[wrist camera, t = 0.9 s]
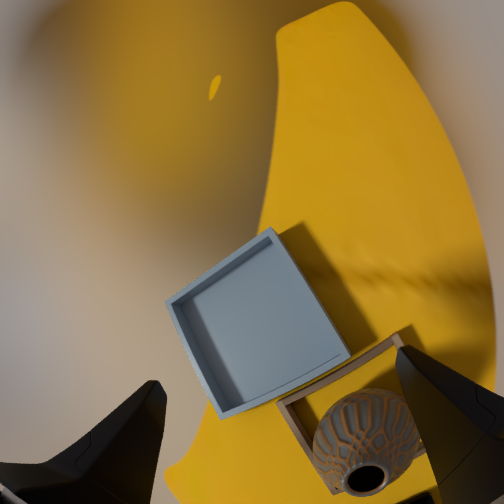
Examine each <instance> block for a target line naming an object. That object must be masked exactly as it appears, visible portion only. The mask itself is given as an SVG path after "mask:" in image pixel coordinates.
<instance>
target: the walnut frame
mask: <svg viewBox="0 0 504 504" xmlns="http://www.w3.org/2000/svg"><path fill="white" fill-rule="evenodd" d="M393 344H394V345H395V347H396V348H397V350H398V348H399V347H401V346H404V344H403V342H402V340H401V339H400V337H399V335H398V333H394V334H392V335H391V336H389V337H388V338H386V339H385V340H383V341H382V342H380V343H379V344H377V345H376V346H374V347H373V348H371V349H370V350H368V351H367V352H365V353H364V354H362V355H360V356H359V357H357V358H355V359H354V360H352V361H351V362H349V363H347V364H345V365H344V366H342V367H340V368H339V369H337V370H335V371H333V372H332V373H330V374H328V375H326V376H324V377H323V378H321V379H319V380H317V381H315V382H313V383H311V384H309V385H307V386H306V387H304V388H302V389H300V390H298V391H296V392H294V393H291V394H289V395H287V396H285V397H283V398H281V399H279V400H278V401H277V402H276V405H277V406H278V408H279V410H280V412H281V413H282V415H283V417H284V418H285V420H286V422H287V423H288V425H289V427H290V429H291V430H292V432H293V434H294V435H295V437H296V438H297V440H298V442H299V443H300V445H301V447H302V448H303V450H304V452H305V453H306V455H307V456H308V458H309V459H310V461H311V463H312V464H313V466H314V467H315V469H316V470H317V472H318V474H319V475H320V477H321V478H322V480H323V481H324V483H325V484H326V486H327V487H328V489H329V490H330V492H331V493H332V495H336V494H338V493H341V492H344V491H343V490H340V489H338V488H336V487H334V486H332V485H331V484H329V483H328V482H327V481H326V480H325V479H324V478H323V477H322V476H321V474H320V473H319V471H318V469H317V467H316V464H315V461H314V456H313V442H312V440H311V439H310V437H309V435H308V434H307V432H306V430H305V429H304V427H303V425H302V424H301V422H300V420H299V418H298V417H297V415H296V413H295V412H294V410H293V408H292V407H291V405H290V403H292V402H294V401H296V400H298V399H300V398H302V397H304V396H306V395H308V394H310V393H312V392H314V391H316V390H318V389H320V388H322V387H324V386H326V385H328V384H330V383H331V382H333V381H335V380H337V379H339V378H340V377H342V376H344V375H346V374H347V373H349V372H351V371H352V370H354V369H356V368H358V367H359V366H361V365H362V364H364V363H366V362H367V361H369V360H370V359H372V358H374V357H375V356H377V355H378V354H380V353H381V352H383V351H384V350H386V349H387V348H389V347H390V346H392V345H393ZM424 453H426V450H425V447H424V445H423V442H421V443H419V446H418V450H417V453H416V455H415V458H417V457H419V456H421V455H422V454H424ZM415 458H414V459H415Z"/></svg>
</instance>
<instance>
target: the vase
mask: <svg viewBox="0 0 504 504" xmlns="http://www.w3.org/2000/svg"><path fill="white" fill-rule="evenodd" d="M419 442H420V434H419V432H418V429H417V427H416V424H415V422H414V419H413V417H412V414H411V412H410V410H409V407H408V405H407V402H406V400H405V399H404V398H403V397H402V396H400V395H399V394H397V393H395V392H393V391H390V390H386V389H381V388H367V389H362V390H358V391H355V392H352V393H350V394H348V395H346V396H344V397H343V398H341V399H340V400H338V401H337V402H336V403H334V404H333V405H332V406H331V407H330V408H329V409H328V411H327V412H326V413H325V415H324V416H323V417H322V419H321V421H320V423H319V425H318V427H317V429H316V432H315V435H314V440H313V456H314V461H315V464H316V467H317V469H318V471H319V473H320V474H321V476H322V477H323V478H324V479H325V480H326V481H327V482H328V483H329V484H331V485H332V486H334V487H336V488H338V489H340V490H343V491H345V492H347V493H348V494H350V495H353V496H357V497H366V496H371V495H374V494H376V493H378V492H380V491H381V490H383V489H384V488H385V487H386V486H387V485H389V484H391V483H392V482H394V481H395V480H396V479H398V478H399V477H400V476H401V475H402V474H403V473H404V472H405V471H406V470H407V469H408V467H409V466H410V464H411V463H412V461H413V460H414V458H415V455H416V453H417V450H418V446H419Z"/></svg>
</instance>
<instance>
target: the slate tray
mask: <svg viewBox="0 0 504 504" xmlns="http://www.w3.org/2000/svg"><path fill="white" fill-rule="evenodd" d="M165 304H166V306H167V308H168V311H169V313H170V316H171V318H172V320H173V323H174V325H175V328H176V330H177V332H178V335H179V337H180V339H181V342H182V344H183V346H184V348H185V350H186V353H187V355H188V357H189V359H190V361H191V363H192V365H193V368H194V370H195V372H196V374H197V376H198V378H199V380H200V382H201V384H202V386H203V388H204V390H205V391H206V394H207V396H208V398H209V399H210V401H211V403H212V405H213V407H214V409H215V411H216V413H217V414H218V416H219V418H220V420H222V419H225V418H228V417H230V416H233V415H235V414H238V413H240V412H243V411H245V410H248V409H250V408H253V407H255V406H257V405H260V404H262V403H264V402H266V401H269V400H271V399H273V398H275V397H277V396H279V395H281V394H284V393H286V392H288V391H290V390H292V389H294V388H296V387H298V386H300V385H302V384H304V383H306V382H308V381H309V380H311V379H313V378H315V377H317V376H319V375H321V374H322V373H324V372H326V371H328V370H330V369H331V368H333V367H335V366H337V365H338V364H340V363H342V362H343V361H345V360H347V359H348V358H350V357H351V354H352V353H351V352H350V350H349V348H348V346H347V345H346V343H345V341H344V340H343V338H342V336H341V335H340V333H339V331H338V330H337V328H336V326H335V325H334V323H333V321H332V320H331V318H330V316H329V315H328V313H327V311H326V310H325V308H324V306H323V305H322V303H321V301H320V300H319V298H318V297H317V295H316V293H315V292H314V290H313V288H312V287H311V285H310V284H309V282H308V280H307V279H306V277H305V276H304V274H303V272H302V271H301V269H300V268H299V266H298V264H297V263H296V261H295V260H294V258H293V257H292V255H291V253H290V252H289V250H288V249H287V247H286V246H285V244H284V242H283V241H282V239H281V238H280V236H279V235H278V234H277V233H276V232H275V231H274V229H273V228H272V227H269V228H268V229H266V230H265V231H263V232H262V233H261V234H259V235H258V236H256V237H255V238H254V239H252V240H251V241H249V242H248V243H246V244H245V245H244V246H242V247H241V248H239V249H238V250H236V251H235V252H234V253H232V254H231V255H229V256H228V257H227V258H225V259H224V260H222V261H221V262H220V263H218V264H217V265H215V266H214V267H213V268H211V269H210V270H208V271H207V272H206V273H204V274H203V275H201V276H200V277H199V278H197V279H196V280H194V281H193V282H192V283H190V284H189V285H187V286H186V287H185V288H183V289H182V290H180V291H179V292H178V293H176V294H175V295H173V296H172V297H171V298H169V299H168V300H167V301H165Z"/></svg>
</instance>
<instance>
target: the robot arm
mask: <svg viewBox="0 0 504 504" xmlns="http://www.w3.org/2000/svg"><path fill="white" fill-rule="evenodd" d="M395 365H396V370H397V373H398V376H399V380H400V383H401V386H402V389H403V393H404V396H405V399H406V402H407V405H408V407H409V410H410V412H411V414H412V417H413V419H414V422H415V424H416V427H417V429H418V432H419V434H420V437H421V439H422V442H423V445H424V447H425V450H426V453H427V455H428V458H429V461H430V464H431V467H432V470H433V473H434V476H435V479H436V482H437V485H438V488H439V492H440V495H441V498H442V502H443V504H504V397H502V396H499V395H497V394H495V393H493V392H491V391H489V390H487V389H486V388H484V387H482V386H480V385H478V384H476V383H475V382H473V381H471V380H470V379H468V378H466V377H464V376H463V375H461V374H459V373H458V372H456V371H454V370H452V369H451V368H449V367H447V366H445V365H444V364H442V363H440V362H439V361H437V360H435V359H433V358H432V357H430V356H428V355H426V354H425V353H423V352H421V351H419V350H418V349H416V348H414V347H413V346H411V345H404V346H401V347H399V348H398V352H397V357H396V363H395ZM166 404H167V395H166V393H165V391H164V389H163V387H162V386H161V384H160V382H159V381H157V380H149V381H147V382H146V383H145V384H144V385H143V386H141V387H140V388H139V389H138V390H137V391H136V392H134V393H133V394H132V395H131V396H130V397H129V398H128V399H126V400H125V401H124V402H123V403H122V404H121V405H119V406H118V407H117V408H116V409H115V410H114V411H113V412H111V413H110V414H109V415H108V416H107V417H106V418H104V419H103V420H102V421H101V422H100V423H98V424H97V425H96V426H95V427H94V428H93V429H92V430H91V431H89V432H88V433H87V434H85V435H84V436H83V437H82V438H80V439H79V440H78V441H77V442H75V443H74V444H72V445H71V446H70V447H68V448H67V449H65V450H64V451H62V452H61V453H59V454H58V455H56V456H55V457H53V458H52V459H50V460H48V461H46V462H44V463H39V464H20V463H4V462H0V484H2V485H3V486H4V488H3V490H2V491H0V504H150V500H151V494H152V489H153V483H154V478H155V473H156V467H157V462H158V457H159V452H160V447H161V442H162V438H163V432H164V426H165V415H166ZM424 497H426V498H424ZM404 504H435V503H434V501H433V499H432V496H431V494H430V493H428V492H427V493H424V494H422V495H420V496H418V497H416V498H414V499H412V500H410V501H408V502H406V503H404Z"/></svg>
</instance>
